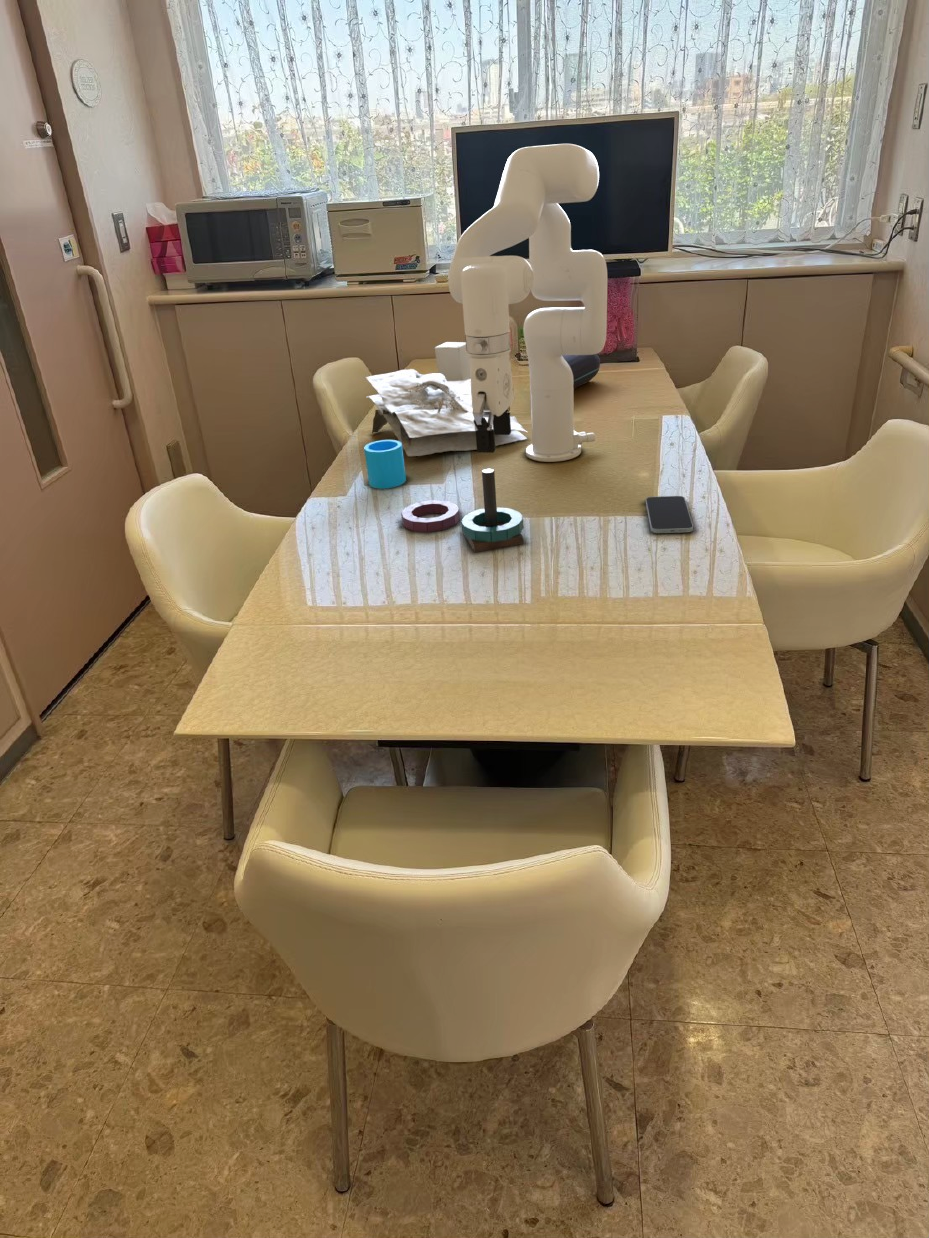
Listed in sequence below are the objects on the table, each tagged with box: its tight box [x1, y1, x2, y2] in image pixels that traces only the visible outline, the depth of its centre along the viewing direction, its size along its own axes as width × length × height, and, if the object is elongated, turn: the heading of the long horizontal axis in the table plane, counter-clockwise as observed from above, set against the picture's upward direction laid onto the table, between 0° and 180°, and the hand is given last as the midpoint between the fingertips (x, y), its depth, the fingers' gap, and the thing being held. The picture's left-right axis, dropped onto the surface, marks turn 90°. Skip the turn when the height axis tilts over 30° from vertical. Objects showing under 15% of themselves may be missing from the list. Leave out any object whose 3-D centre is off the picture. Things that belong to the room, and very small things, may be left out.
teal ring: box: [460, 507, 525, 542], centre depth 151 cm, size 11×11×2 cm
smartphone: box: [645, 495, 694, 534], centre depth 153 cm, size 7×1×15 cm
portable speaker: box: [563, 353, 601, 390], centre depth 234 cm, size 25×10×10 cm, turn 144°
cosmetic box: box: [434, 341, 471, 381], centre depth 232 cm, size 8×7×16 cm
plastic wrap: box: [365, 368, 528, 457], centre depth 206 cm, size 35×16×32 cm
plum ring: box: [400, 499, 461, 533], centre depth 161 cm, size 11×11×2 cm
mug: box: [363, 439, 407, 489], centre depth 181 cm, size 12×8×8 cm
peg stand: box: [465, 468, 524, 553], centre depth 148 cm, size 9×9×13 cm
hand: (494, 442), depth 147 cm, fingers open, 9 cm apart
